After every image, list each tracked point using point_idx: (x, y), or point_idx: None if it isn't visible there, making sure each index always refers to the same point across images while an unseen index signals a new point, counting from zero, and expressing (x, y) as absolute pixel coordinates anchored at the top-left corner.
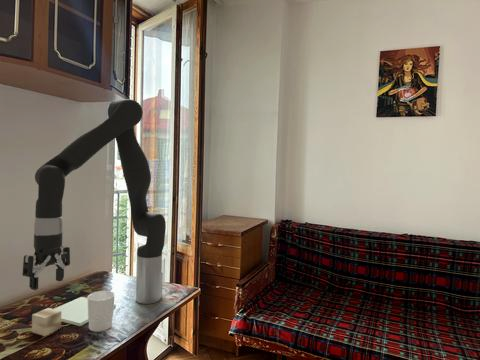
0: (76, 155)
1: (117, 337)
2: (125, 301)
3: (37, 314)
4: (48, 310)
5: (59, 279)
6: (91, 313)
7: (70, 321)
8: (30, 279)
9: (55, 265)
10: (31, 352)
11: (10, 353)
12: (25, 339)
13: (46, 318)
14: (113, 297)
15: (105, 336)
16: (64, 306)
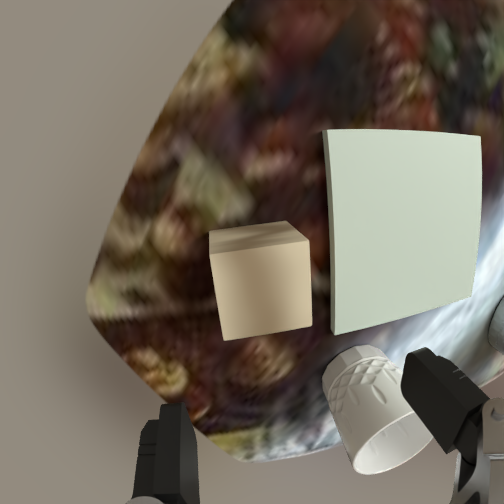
0: None
1: (321, 436)
2: (496, 278)
3: (225, 275)
4: (286, 273)
5: (409, 387)
6: (337, 423)
7: (334, 291)
8: (138, 491)
9: (480, 444)
10: (138, 357)
11: (95, 314)
12: (163, 267)
13: (229, 337)
14: (401, 460)
15: (313, 420)
16: (410, 150)
